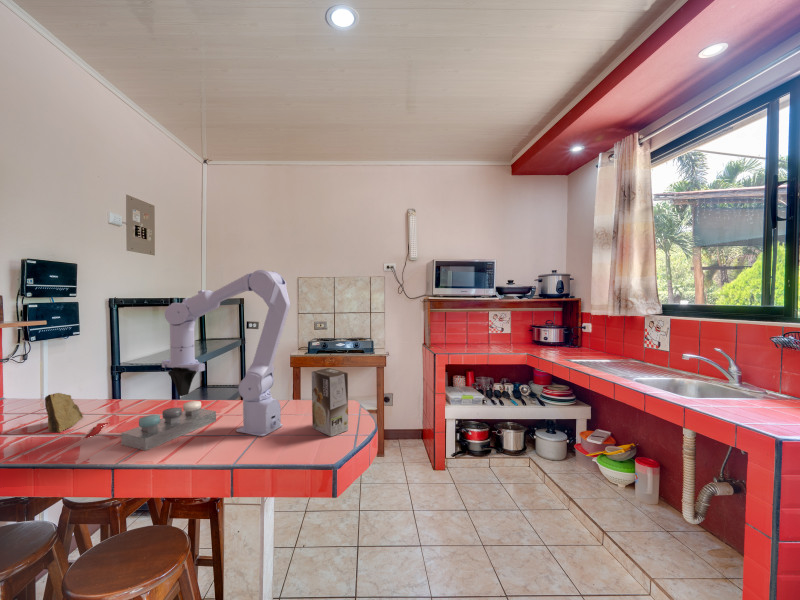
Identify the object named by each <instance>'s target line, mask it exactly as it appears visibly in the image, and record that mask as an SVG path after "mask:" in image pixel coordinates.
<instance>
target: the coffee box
mask: <svg viewBox="0 0 800 600" xmlns="http://www.w3.org/2000/svg"><path fill="white" fill-rule="evenodd" d="M348 375H349V373H348V372H345V371H343V370H338V369H334V368H330V367H328V368H327V367H326V368H321V369H318V370H315V371H311V409H312V410H311V413H312V414H311V416H312V420H311V422H312V423H311V424H312V429H314V430H315V431H318V432H320V433H323V434H324V435H326V436H328V437H334V436H336V435H339V434H342V433H344V432H347V431H349V377H348Z"/></svg>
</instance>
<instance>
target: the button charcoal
mask: <svg viewBox="0 0 800 600" xmlns="http://www.w3.org/2000/svg"><path fill="white" fill-rule="evenodd" d="M182 410H183V409H182V407H170V408H166V409H164V410H162V411H161V412H162V418H164V419H165V423H169V424H172V423H175V422H177V421H180V416H181V415H182Z"/></svg>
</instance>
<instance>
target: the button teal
mask: <svg viewBox="0 0 800 600" xmlns="http://www.w3.org/2000/svg"><path fill="white" fill-rule="evenodd" d="M160 419H161V415H160V414H149V415H146V416H142V417H140V418H139V419H138V427H142V431H143V432H147V433H148V432H151V431H153V430H156V429H158V424H159V423H160Z"/></svg>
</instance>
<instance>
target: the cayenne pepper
mask: <svg viewBox="0 0 800 600" xmlns="http://www.w3.org/2000/svg"><path fill="white" fill-rule="evenodd" d="M108 423H109V422H100V423H97V424H96V426H94V427H93V428H92V429H91V431H90V432H89V433H88V434H87V435H86V436H84V438H86V439H88V437H90V436H93V437H95V436H97V435H98V434H100V433H101V432H100V431H102V430H101V429H103V428H104V427H105V426H103V425H105V424H107V425H109V424H108ZM101 426H102V427H101ZM99 432H100V433H99ZM96 434H97V435H96ZM94 435H95V436H94ZM90 438H91V437H90Z"/></svg>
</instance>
